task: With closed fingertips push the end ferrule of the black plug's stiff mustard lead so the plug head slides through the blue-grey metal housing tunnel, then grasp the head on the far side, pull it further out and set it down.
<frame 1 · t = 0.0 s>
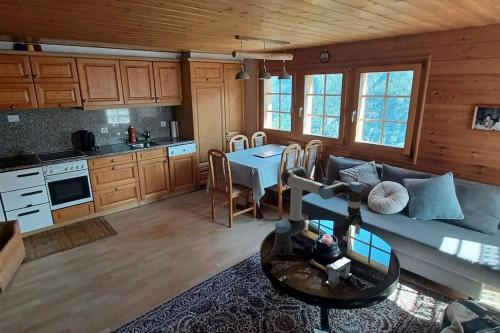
hand: (351, 236, 186), 28 cm above the table, fingers open, 13 cm apart
housing: (338, 279, 188), on the table
plug: (330, 274, 193), on the table
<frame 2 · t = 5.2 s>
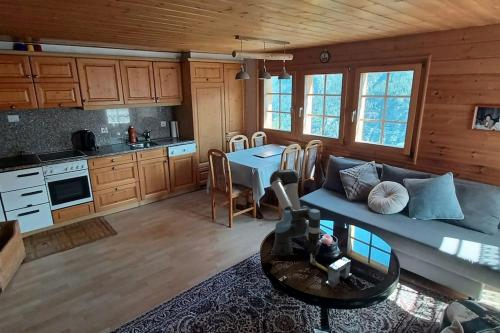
hand: (312, 261, 204), 2 cm above the table, fingers closed
plug: (332, 275, 192), on the table, touching gripper
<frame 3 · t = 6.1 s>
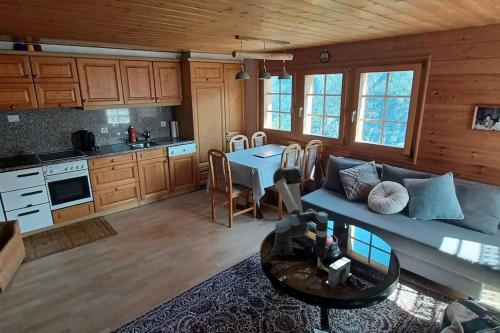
hand: (319, 265, 199), 2 cm above the table, fingers closed
plug: (340, 280, 187), on the table, touching gripper
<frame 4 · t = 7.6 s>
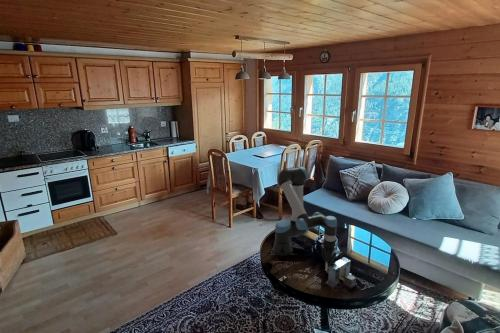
hand: (327, 270, 195), 2 cm above the table, fingers closed
plug: (349, 285, 182), on the table, touching gripper
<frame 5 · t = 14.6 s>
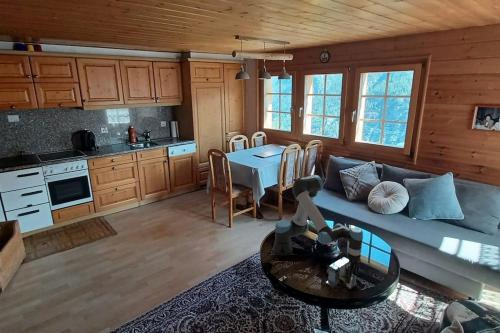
hand: (350, 285, 181), 0 cm above the table, fingers closed on plug, 4 cm apart
plug: (349, 285, 182), on the table, touching gripper
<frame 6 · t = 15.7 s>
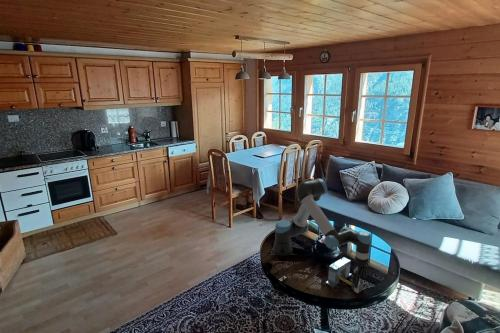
hand: (358, 290, 177), 0 cm above the table, fingers closed on plug, 4 cm apart
plug: (356, 289, 178), on the table, touching gripper
when the fingers open (0 cm above the table, at t = 16.9 s): plug stays where it is, on the table.
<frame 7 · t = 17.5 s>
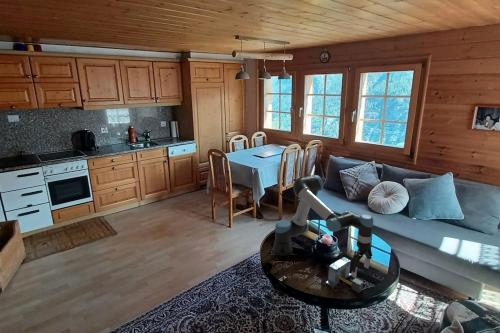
hand: (360, 271, 174), 13 cm above the table, fingers open, 13 cm apart
plug: (356, 289, 178), on the table
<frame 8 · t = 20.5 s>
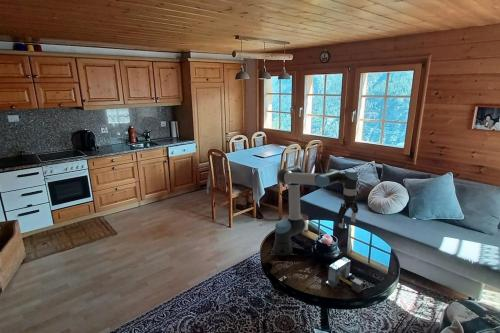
hand: (347, 224, 188), 35 cm above the table, fingers open, 13 cm apart
nothing on the table moved.
at the end: plug inside the target area (2.3 cm from its centre), on the table; the gripper is holding nothing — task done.
